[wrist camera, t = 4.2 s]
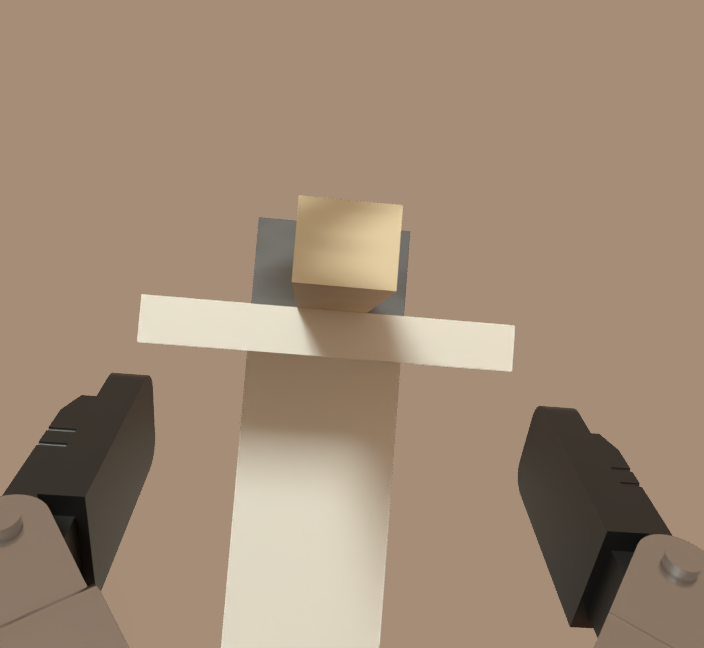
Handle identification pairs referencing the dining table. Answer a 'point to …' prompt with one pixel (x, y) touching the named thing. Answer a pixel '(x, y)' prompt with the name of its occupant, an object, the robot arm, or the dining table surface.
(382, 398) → the stand
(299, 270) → the grey and beige blocks
